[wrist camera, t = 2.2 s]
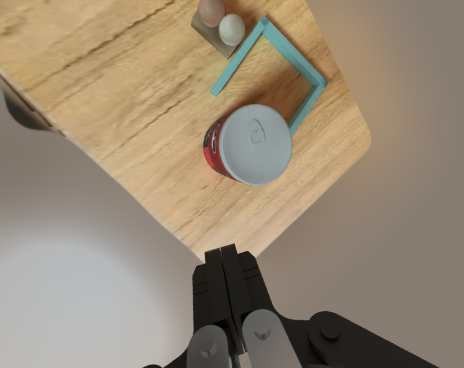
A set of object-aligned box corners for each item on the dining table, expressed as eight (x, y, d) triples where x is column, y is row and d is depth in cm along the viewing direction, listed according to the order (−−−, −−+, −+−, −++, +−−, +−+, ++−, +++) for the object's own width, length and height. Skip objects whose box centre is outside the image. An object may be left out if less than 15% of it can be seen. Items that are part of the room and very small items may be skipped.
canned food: (238, 109, 32) (274, 89, 22) (262, 159, 34) (305, 162, 24) (191, 134, 31) (204, 126, 21) (218, 185, 33) (243, 200, 23)
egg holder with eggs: (189, 25, 29) (194, 2, 25) (203, 5, 29) (211, -22, 25) (227, 60, 31) (238, 44, 26) (241, 41, 31) (254, 22, 27)
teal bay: (209, 91, 31) (211, 88, 29) (259, 21, 31) (263, 15, 30) (278, 148, 35) (283, 148, 33) (321, 85, 35) (328, 82, 34)
